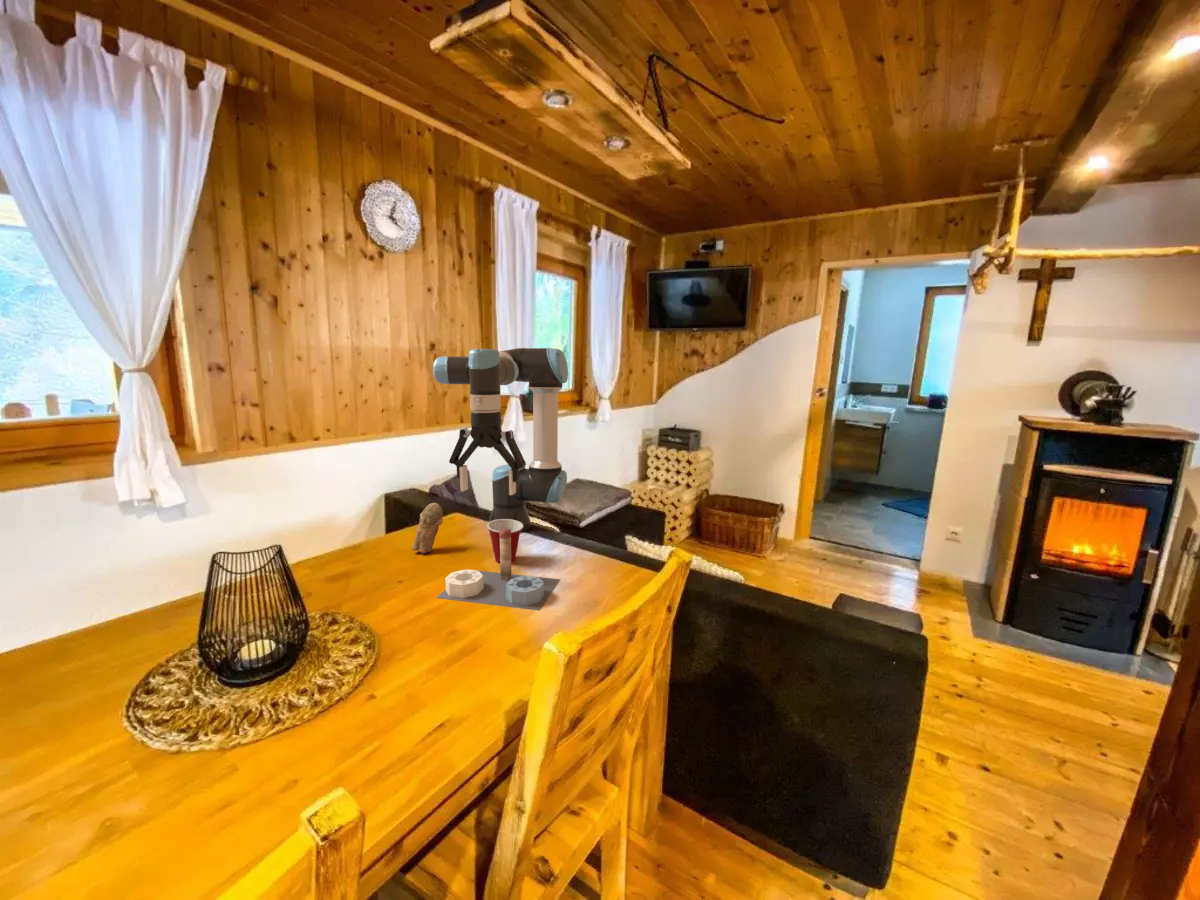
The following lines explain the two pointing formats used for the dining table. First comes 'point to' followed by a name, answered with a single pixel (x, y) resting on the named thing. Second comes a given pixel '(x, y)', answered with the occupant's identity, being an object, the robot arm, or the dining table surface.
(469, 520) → the dining table surface
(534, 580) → the bead blue
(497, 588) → the felt mat
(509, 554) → the dowel
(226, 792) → the dining table surface
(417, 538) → the figurine
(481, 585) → the bead white
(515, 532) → the plastic cup
